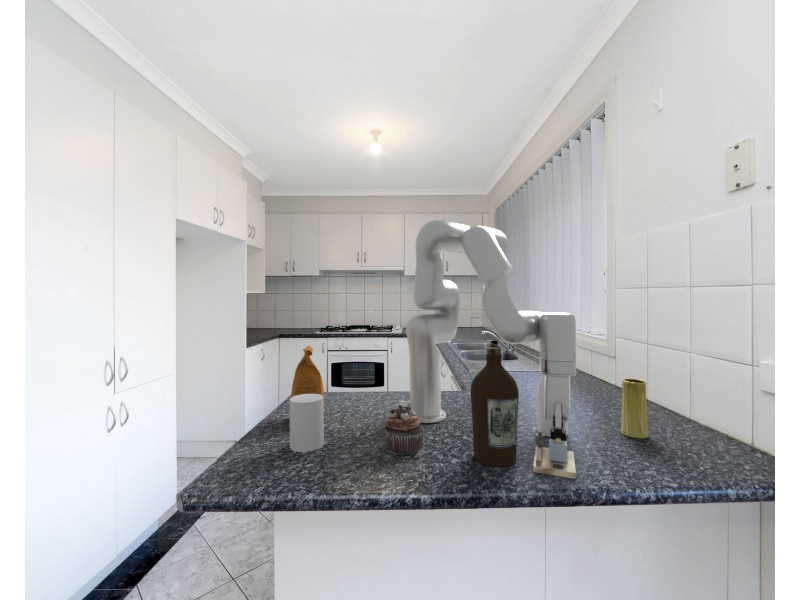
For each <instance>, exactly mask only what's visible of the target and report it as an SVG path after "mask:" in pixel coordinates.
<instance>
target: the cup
mask: <svg viewBox="0 0 800 600" xmlns="http://www.w3.org/2000/svg"><path fill="white" fill-rule="evenodd" d="M324 410H325V407H324V408H323V396H322V395H320V394H301V395H296V396H293V397H291V396H290V398H289V449H290V448H291V449H292V450H293V451H297V452H308V451H314V450H317V449H319V448H321V447H322V446H323V445H324V446H325V435H324V433H325V431H324V430H325V428H324V427H325V426H324V425H325V424H324V422H325V421H324V420H325V419H324V415H325V414H324ZM324 446H323V447H324ZM323 447H322V448H323ZM322 448H321V449H322ZM319 450H320V449H319ZM293 451H292V452H293ZM317 451H318V450H317ZM314 452H315V451H314Z"/></svg>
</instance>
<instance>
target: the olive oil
mask: <svg viewBox="0 0 800 600" xmlns="http://www.w3.org/2000/svg"><path fill="white" fill-rule="evenodd" d="M501 352H502V349H501V348H500V347H495V346H493V347H491V346H490V347H486V360H485V361H486V364H485V365H484V367H482V369H480V371H479V372H478V373H477V374H476V375H475V376H474V377H473V379H472V381H471V385H470V403H471V404H470V405H471V421H472V441H473V442H472V443H473V458H474V459H475V460H476V461H477V462H479V463H480V464H483V465H486V466H489V467H496V468H497V467H499V468H501V467H502V468H503V467H504V468H505V467H509V466H512V465H514V464H515V463H516V462H517V447H518V446H517V444H518V421H519V420H518V416H519V415H518V413H519V398H520V397H519V396H520V395H519V394H520V392H519V387H518V384H517V382H516V379H515V378H514V377H513V376H512V375H511V374H510V373H509V371H508V370H506V368H505V367H504V366H503V364H502V357H503V356H502V353H501Z"/></svg>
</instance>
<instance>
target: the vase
mask: <svg viewBox="0 0 800 600" xmlns="http://www.w3.org/2000/svg"><path fill="white" fill-rule="evenodd" d="M621 388H622V391H621V392H622V393H621V394H622V395H621V398H622V401H621V429H620V432H621V434H622V435H624V436H626V437H629V438H633V439H646V438H648V437H649V433H648V414H647V413H648V412H647V411H648V410H647V407H648V406H647V382H646V381H645V380H643V379H640V378H639V379H638V378H622V384H621Z"/></svg>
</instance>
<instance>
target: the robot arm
mask: <svg viewBox="0 0 800 600" xmlns="http://www.w3.org/2000/svg"><path fill="white" fill-rule="evenodd" d="M508 248H509V242H508V239H507V237H506V235H505V234H504V233H503V232H502V231H501V230H499V229H496V228H491V227H487V226H482V225H476V226H471V225H465V224H461V223H457V222H453V221H449V220H443V219H437V220H431V221H428V222H427V223H425V224H423V225H422V226H421V228H420V229H419V231H418V233H417V236H416V240H415V274H414V284H413V285H414V287H413V301H414V304H415V306H416V308H419V309H420V310H424V311H425V310H426V311H428V310H429V311H434V312H433V313H421V314H417V315H413V316H412V317H411V318H410V319H409V320H408V321H407V324H406V326H405V327H406V328H405V333H406V338H407V343H408V344H407V345H408V351H409V399H408V401H407V400H403V399H399V400H398V406H399V405H401V406H402V407H404V409H405V407H410V408H411V410H412V411H414V412H415V413H416V416H418V417H419V418H420V423H421V424H434V423H438V422H439V423H440V422H442V421H444V420H445V419H447V413H446V411H445V410H443V409H442V388H441V387H442V386H441V385H442V381H441V380H442V379H441V378H442V376H441V375H442V374H441V373H442V372H441V370H442V367H441V363H442V362H441V361H442V360H441V355H440V352H439V350H438V348H437V345H436V344H445V343H448V342H451V341H452V340H453V339H455V336H456V334H457V332H458V327H459V326H458V324H459V316H460V314H459V313H460V304H461V303H460V302H461V295H460V290H459V288H458V286H457V284H455V283H454V282H453V281H452V280H449V279H444V270H445V266H444V260H443V257H442V255H441V252H442V251H443V252H444V251H445V252H450V253H457V254H463V255H466V257H467V259H468V260H469V262H470V264H471V266H472V268H473V270H474V271H475V274H476V276H477V277H478V279H479V281H480V283H481V284H482V285H481V286H482V305H483V309H484V312H485V314H486V317H487V319H488V321H489V322H490V324H491V327H492V328H493V330H494V331H495V333H496V334H497V336H498V337H499V338H500V339H501V340H502V341H503V342H505V343H507V344H510V345H519V344H525V343H531V342H539V373H540V374H541V375H542V374H543V375H545V379H544V418H545V420H546V421H548V419H549V420H550V419H551V421H552V429H550V437H549V439H554V440H556V438H560V439H561V440H562V441H567V436H566V431H565V422H568V423H569V420H570V419H569V418H570V408H571V405H570V404H571V378H572V377H576V375H577V337H576V335H577V333H576V332H577V328H576V327H577V326H576V324H577V322H576V317H575V315H574V314H573V313H570V312H557V311H556V312H541V311H537V310H536V311H535V310H520V311H519V310H518V309H517V307H516V305H515V304H514V301H513V300H512V298H511V296H510V293H509V290H508V284H509V283H508V282H509V280H511V279H512V277H513V275H514V268H513V267H512V265H511V263H510V262H509V260H508V258H507V257H506V253H507V251H508Z"/></svg>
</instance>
